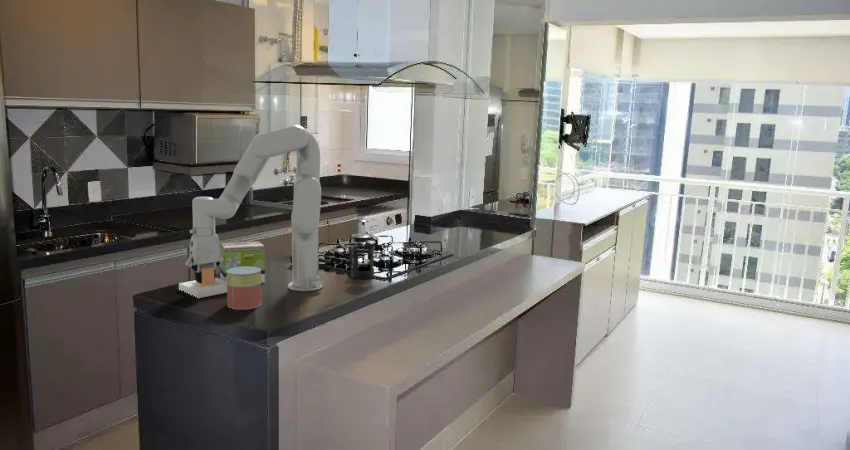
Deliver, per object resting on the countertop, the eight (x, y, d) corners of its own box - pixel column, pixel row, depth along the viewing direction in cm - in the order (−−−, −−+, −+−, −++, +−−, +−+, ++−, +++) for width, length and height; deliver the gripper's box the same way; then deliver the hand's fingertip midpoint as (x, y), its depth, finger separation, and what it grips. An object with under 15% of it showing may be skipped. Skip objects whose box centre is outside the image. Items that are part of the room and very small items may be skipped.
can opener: (287, 268, 271) (286, 255, 270) (293, 264, 278) (293, 251, 277) (327, 271, 268) (327, 257, 267) (333, 267, 274) (333, 254, 273)
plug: (215, 283, 234) (214, 264, 233) (202, 285, 231) (202, 266, 229) (208, 280, 237) (207, 262, 236) (196, 282, 234) (195, 263, 233)
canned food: (263, 299, 225) (263, 266, 223) (259, 309, 214) (258, 274, 212) (230, 299, 224) (229, 266, 222) (224, 309, 213) (223, 274, 211)
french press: (380, 276, 260) (381, 220, 256) (366, 281, 252) (366, 223, 248) (357, 272, 266) (357, 216, 262) (342, 276, 258) (342, 219, 254)
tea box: (225, 287, 240) (224, 248, 237) (220, 280, 248) (219, 242, 246) (265, 283, 246) (265, 245, 244) (259, 276, 255) (258, 240, 253)
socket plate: (234, 290, 235) (233, 282, 234) (197, 298, 225) (197, 289, 224) (214, 283, 244) (214, 275, 244) (179, 289, 234) (178, 281, 234)
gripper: (186, 235, 222) (188, 287, 225) (231, 230, 234) (232, 279, 237) (176, 232, 227) (178, 282, 230) (220, 227, 239) (221, 275, 242)
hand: (205, 280), depth 234 cm, fingers closed on plug, 4 cm apart
